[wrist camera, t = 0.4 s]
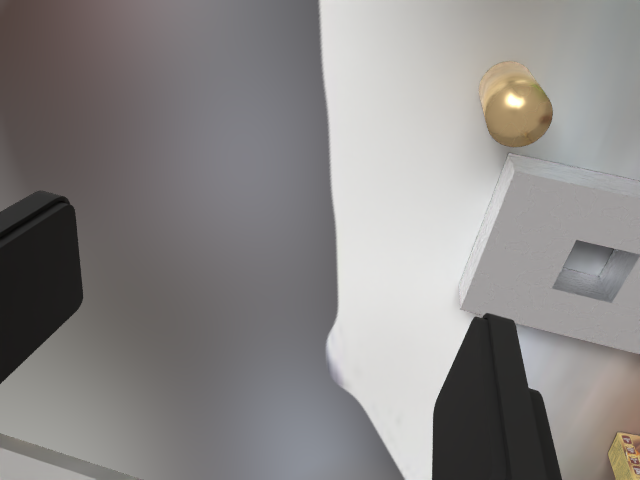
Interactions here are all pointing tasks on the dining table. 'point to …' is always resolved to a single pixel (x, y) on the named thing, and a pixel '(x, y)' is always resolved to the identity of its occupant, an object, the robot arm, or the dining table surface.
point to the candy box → (625, 456)
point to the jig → (558, 253)
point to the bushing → (514, 105)
